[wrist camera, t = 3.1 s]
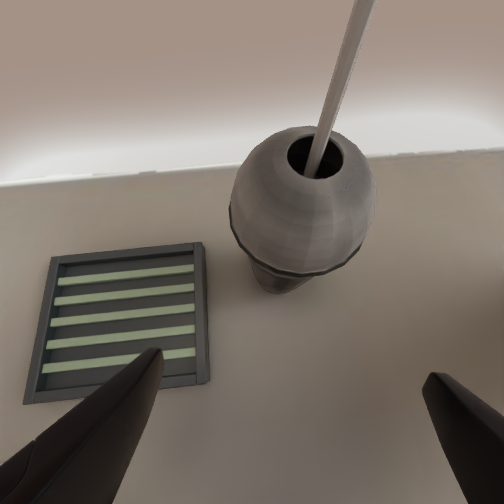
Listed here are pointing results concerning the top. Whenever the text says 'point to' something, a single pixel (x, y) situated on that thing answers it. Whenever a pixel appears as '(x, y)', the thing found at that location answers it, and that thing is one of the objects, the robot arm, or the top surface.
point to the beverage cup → (307, 188)
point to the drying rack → (120, 319)
